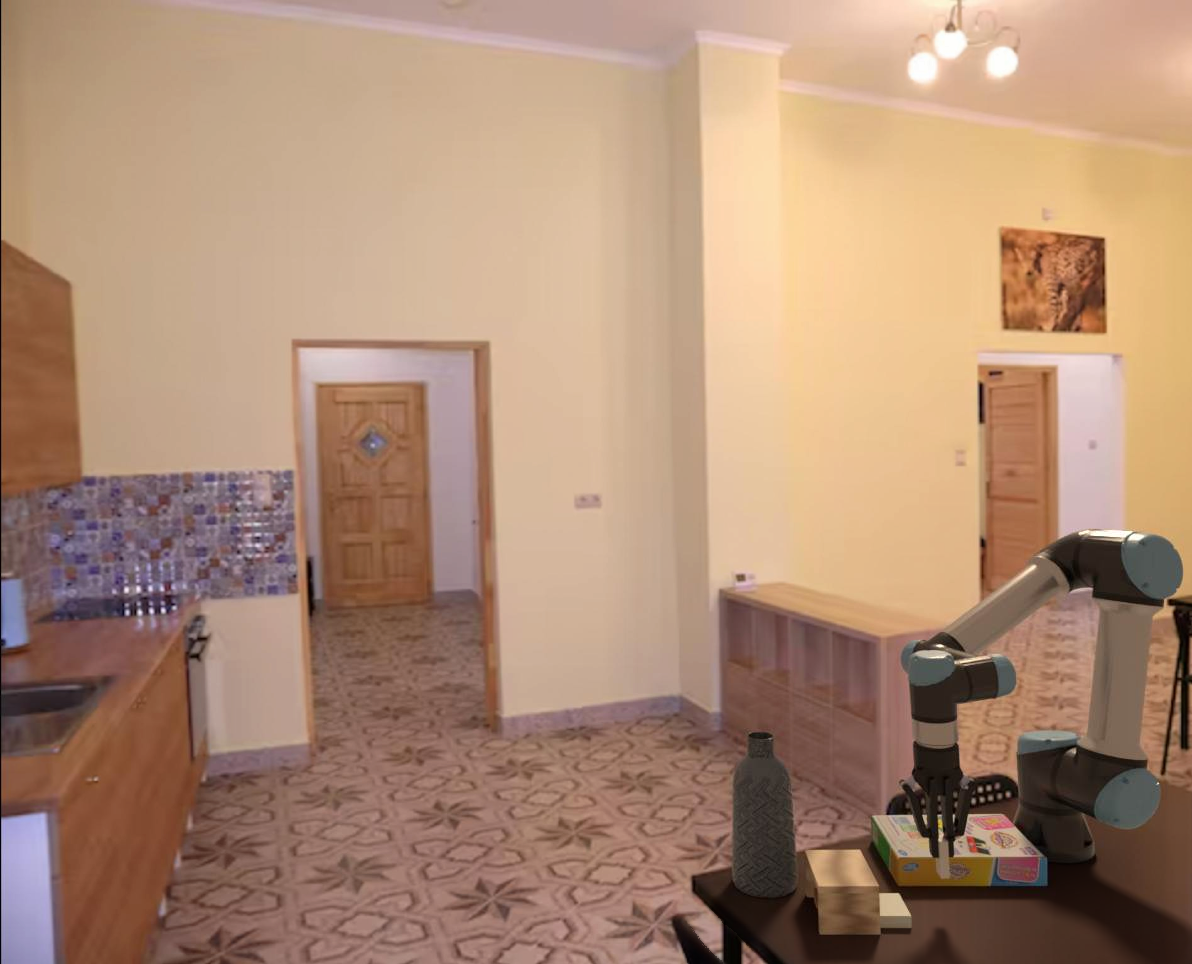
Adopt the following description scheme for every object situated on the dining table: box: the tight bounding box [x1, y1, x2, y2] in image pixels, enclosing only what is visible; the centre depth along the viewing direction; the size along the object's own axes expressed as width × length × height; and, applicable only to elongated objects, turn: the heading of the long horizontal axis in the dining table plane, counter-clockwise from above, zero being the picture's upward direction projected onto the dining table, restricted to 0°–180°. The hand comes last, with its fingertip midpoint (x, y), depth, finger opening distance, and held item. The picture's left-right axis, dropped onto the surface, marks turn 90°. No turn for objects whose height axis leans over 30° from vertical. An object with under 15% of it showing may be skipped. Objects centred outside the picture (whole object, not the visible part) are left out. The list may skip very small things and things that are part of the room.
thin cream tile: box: [879, 892, 913, 929], centre depth 155 cm, size 12×8×2 cm, turn 86°
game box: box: [870, 813, 1048, 887], centre depth 174 cm, size 21×6×27 cm
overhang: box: [804, 849, 882, 936], centre depth 156 cm, size 10×14×8 cm
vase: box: [731, 731, 799, 899], centre depth 168 cm, size 12×12×28 cm
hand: (943, 874), depth 155 cm, fingers closed
